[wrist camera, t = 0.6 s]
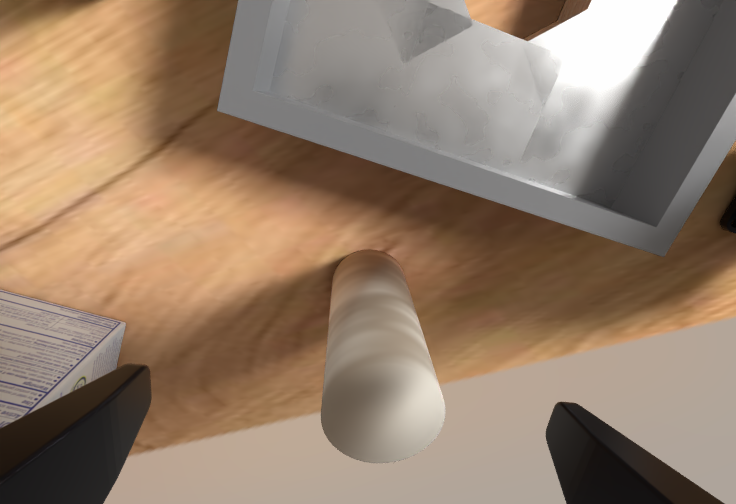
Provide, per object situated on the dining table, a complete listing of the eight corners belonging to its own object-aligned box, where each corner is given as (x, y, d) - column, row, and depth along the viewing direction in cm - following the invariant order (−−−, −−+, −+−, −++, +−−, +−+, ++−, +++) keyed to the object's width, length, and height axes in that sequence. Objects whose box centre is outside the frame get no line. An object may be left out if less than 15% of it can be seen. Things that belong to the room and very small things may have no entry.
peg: (415, 261, 22) (464, 381, 13) (391, 323, 23) (419, 473, 14) (344, 240, 22) (341, 350, 12) (323, 305, 23) (306, 449, 14)
